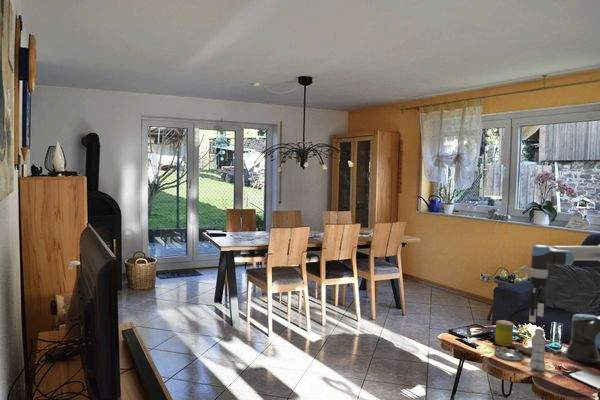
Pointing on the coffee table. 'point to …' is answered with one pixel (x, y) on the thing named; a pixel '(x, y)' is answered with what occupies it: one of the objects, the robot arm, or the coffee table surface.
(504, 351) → the flange
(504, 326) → the yellow cylinder
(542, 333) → the plastic bottle
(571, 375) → the coffee table surface
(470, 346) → the coffee table surface
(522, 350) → the grey rectangular block
